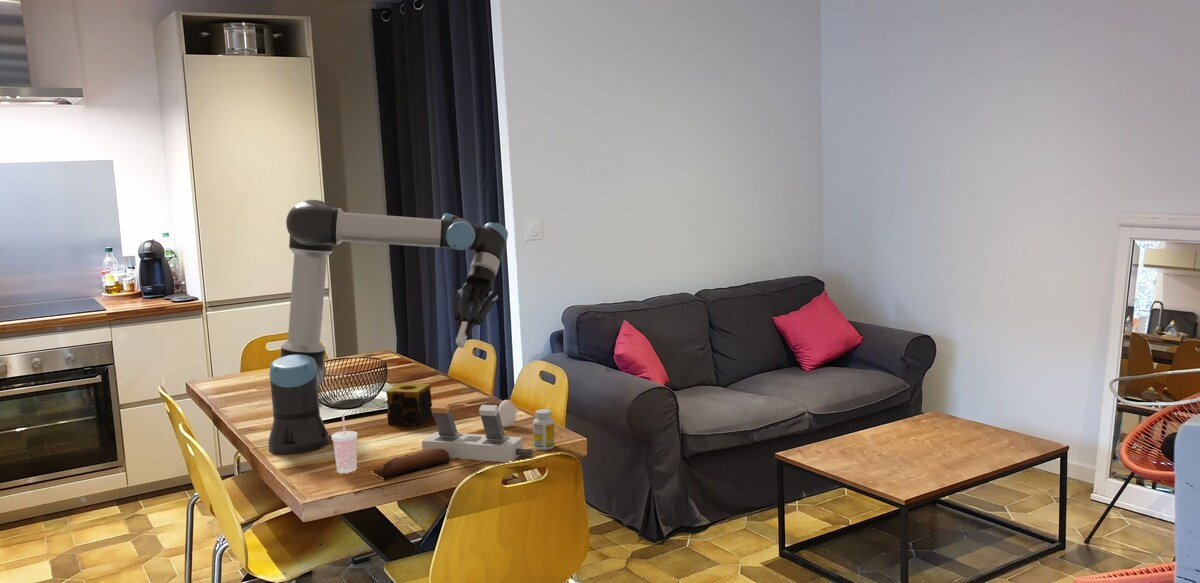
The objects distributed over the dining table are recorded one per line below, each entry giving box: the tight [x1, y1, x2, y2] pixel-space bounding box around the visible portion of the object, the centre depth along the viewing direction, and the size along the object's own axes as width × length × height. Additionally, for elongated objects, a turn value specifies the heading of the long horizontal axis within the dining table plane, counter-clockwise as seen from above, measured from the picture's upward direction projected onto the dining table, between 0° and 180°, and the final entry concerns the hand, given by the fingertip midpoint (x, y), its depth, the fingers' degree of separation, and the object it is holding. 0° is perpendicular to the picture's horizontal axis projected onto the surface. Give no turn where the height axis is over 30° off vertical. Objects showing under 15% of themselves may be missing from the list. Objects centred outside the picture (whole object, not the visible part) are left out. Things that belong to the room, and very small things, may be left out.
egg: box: [498, 399, 517, 428], centre depth 252 cm, size 5×5×8 cm
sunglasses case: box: [371, 449, 451, 480], centre depth 220 cm, size 18×7×7 cm
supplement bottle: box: [532, 408, 555, 451], centre depth 233 cm, size 5×5×10 cm
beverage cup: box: [331, 413, 358, 474], centre depth 218 cm, size 6×6×14 cm
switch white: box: [478, 404, 507, 440], centre depth 224 cm, size 2×5×10 cm, turn 73°
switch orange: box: [431, 401, 460, 437], centre depth 228 cm, size 2×5×10 cm, turn 73°
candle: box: [385, 383, 433, 427], centre depth 261 cm, size 10×10×10 cm
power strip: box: [421, 431, 534, 463], centre depth 228 cm, size 28×8×4 cm, turn 73°
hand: (459, 344), depth 238 cm, fingers closed
